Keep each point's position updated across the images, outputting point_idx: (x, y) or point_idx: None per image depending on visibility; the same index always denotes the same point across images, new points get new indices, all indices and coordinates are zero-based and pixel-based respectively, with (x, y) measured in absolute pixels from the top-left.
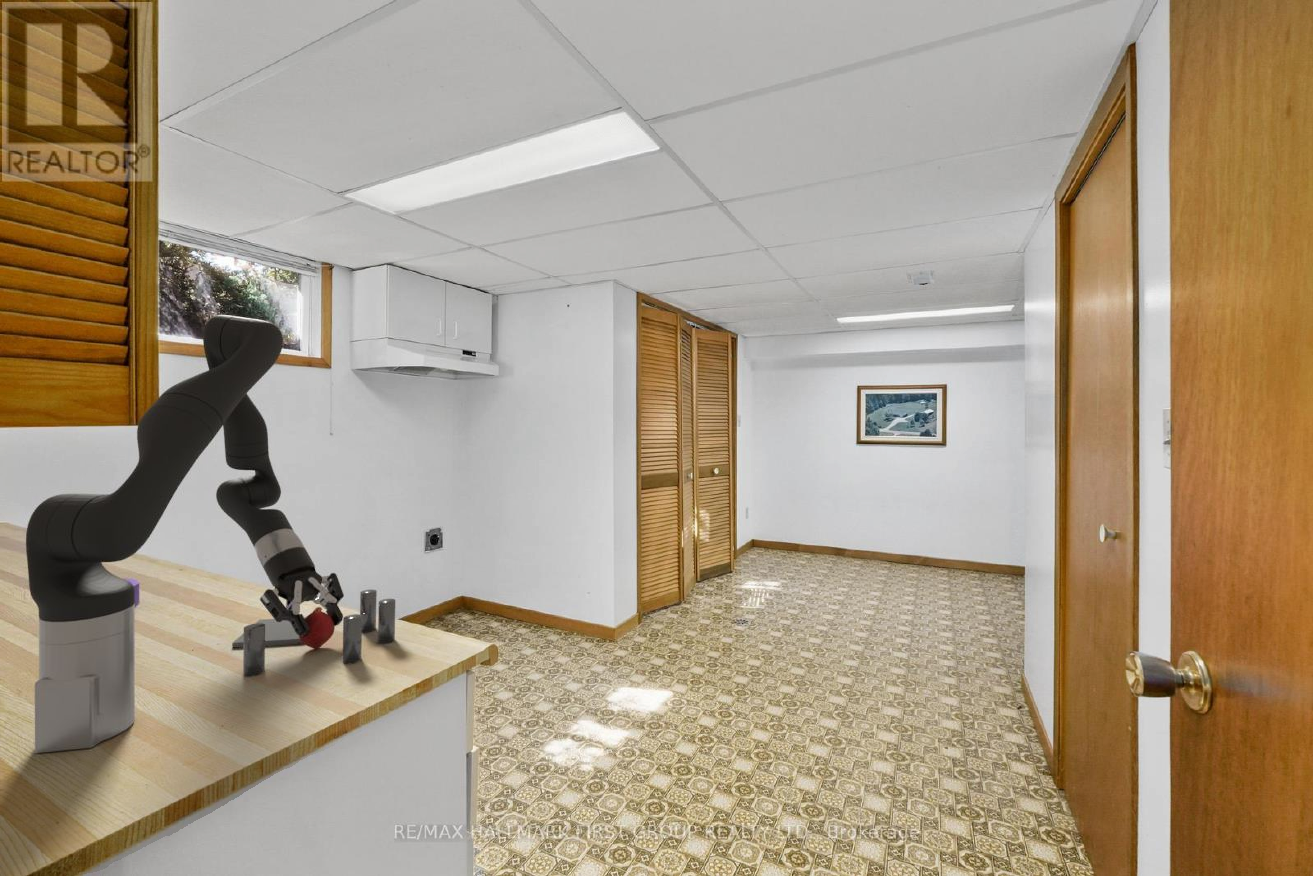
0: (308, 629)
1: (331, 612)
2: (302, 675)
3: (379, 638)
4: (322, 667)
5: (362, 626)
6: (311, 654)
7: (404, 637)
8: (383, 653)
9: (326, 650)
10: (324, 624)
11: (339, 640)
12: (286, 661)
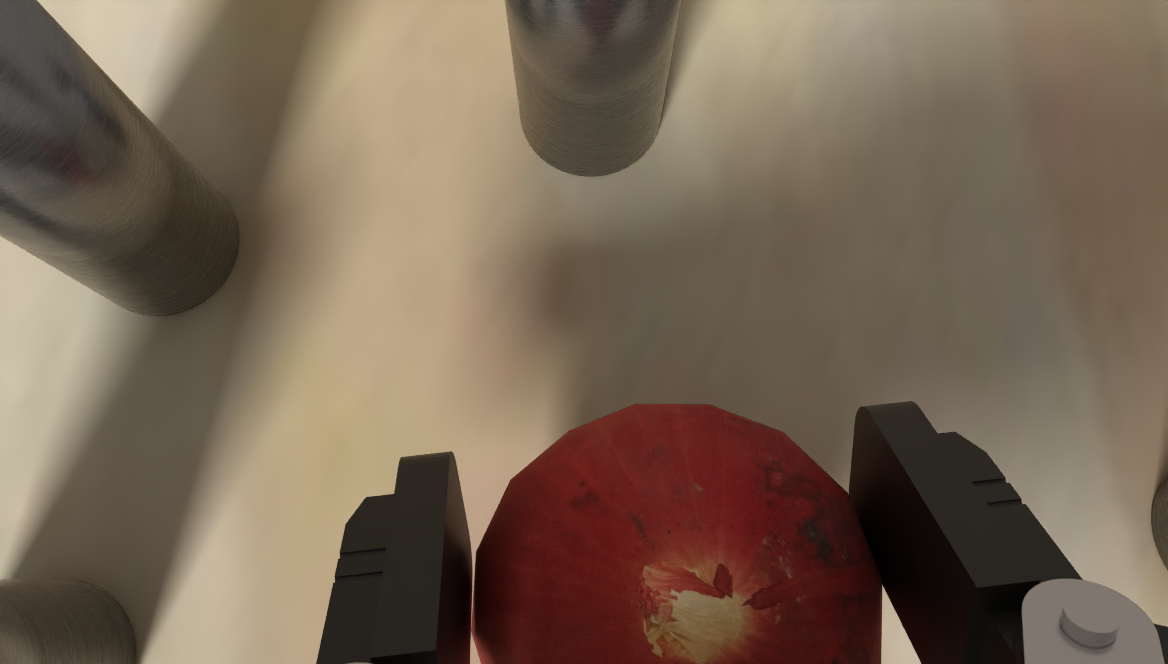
0: (884, 408)
1: (452, 630)
2: (970, 161)
3: (221, 226)
4: (805, 174)
5: (102, 643)
6: None
7: None
8: (362, 37)
9: None
10: (674, 411)
11: None
12: None
